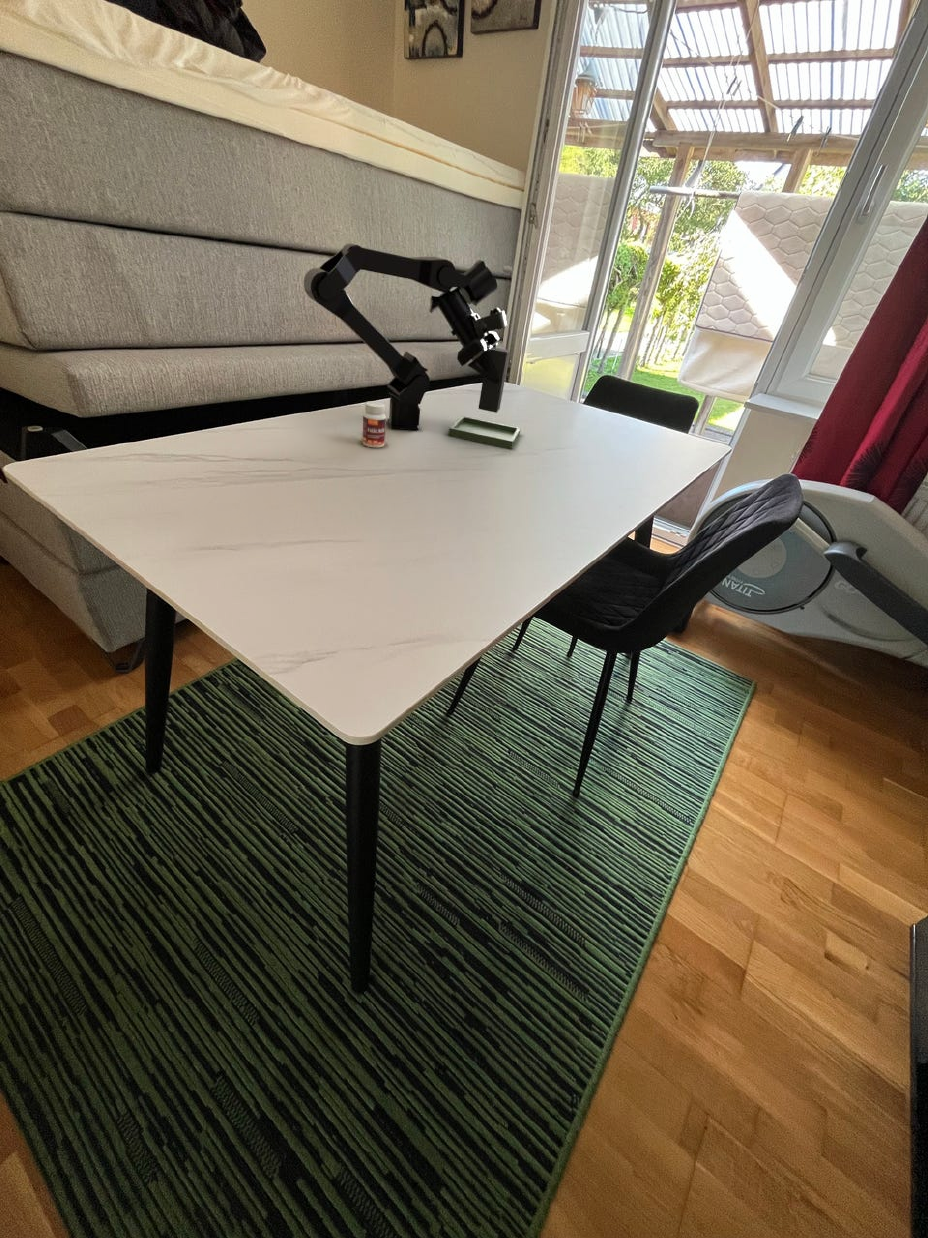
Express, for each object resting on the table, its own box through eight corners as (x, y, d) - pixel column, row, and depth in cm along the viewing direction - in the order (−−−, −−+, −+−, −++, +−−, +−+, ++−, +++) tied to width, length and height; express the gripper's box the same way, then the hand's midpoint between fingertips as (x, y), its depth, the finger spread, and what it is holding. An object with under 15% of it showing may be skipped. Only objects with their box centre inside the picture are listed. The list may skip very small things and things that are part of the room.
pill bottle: (366, 448, 109) (367, 407, 104) (359, 440, 112) (360, 400, 107) (387, 447, 111) (389, 407, 106) (380, 440, 114) (381, 400, 109)
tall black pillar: (478, 408, 123) (487, 348, 115) (481, 405, 126) (491, 346, 118) (496, 412, 122) (507, 352, 115) (499, 409, 126) (510, 350, 118)
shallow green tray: (448, 435, 124) (449, 427, 123) (461, 422, 134) (462, 415, 133) (511, 449, 122) (512, 441, 121) (519, 435, 132) (520, 428, 131)
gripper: (480, 294, 103) (522, 365, 109) (497, 291, 118) (533, 353, 124) (438, 331, 109) (480, 396, 114) (460, 323, 124) (496, 381, 129)
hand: (499, 380), depth 120 cm, fingers closed on tall black pillar, 4 cm apart
